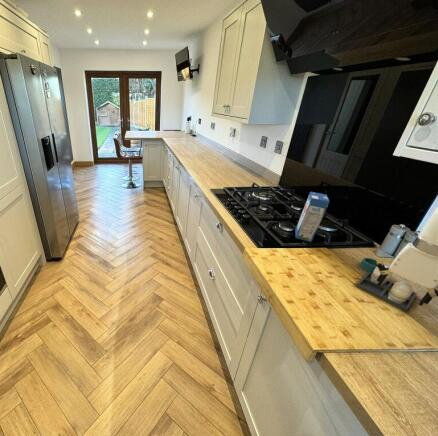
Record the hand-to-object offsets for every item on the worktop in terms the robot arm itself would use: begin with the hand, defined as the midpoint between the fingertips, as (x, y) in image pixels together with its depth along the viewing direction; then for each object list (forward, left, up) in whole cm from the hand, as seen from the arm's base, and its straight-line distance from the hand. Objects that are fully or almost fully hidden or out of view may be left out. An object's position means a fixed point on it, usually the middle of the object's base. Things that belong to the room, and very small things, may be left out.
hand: (399, 293), depth 73 cm
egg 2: (0, 0, -3) cm, 3 cm away
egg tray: (+3, -3, -4) cm, 6 cm away
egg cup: (+10, -14, -4) cm, 18 cm away
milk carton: (+36, -18, -4) cm, 40 cm away
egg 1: (+6, -6, -3) cm, 9 cm away
